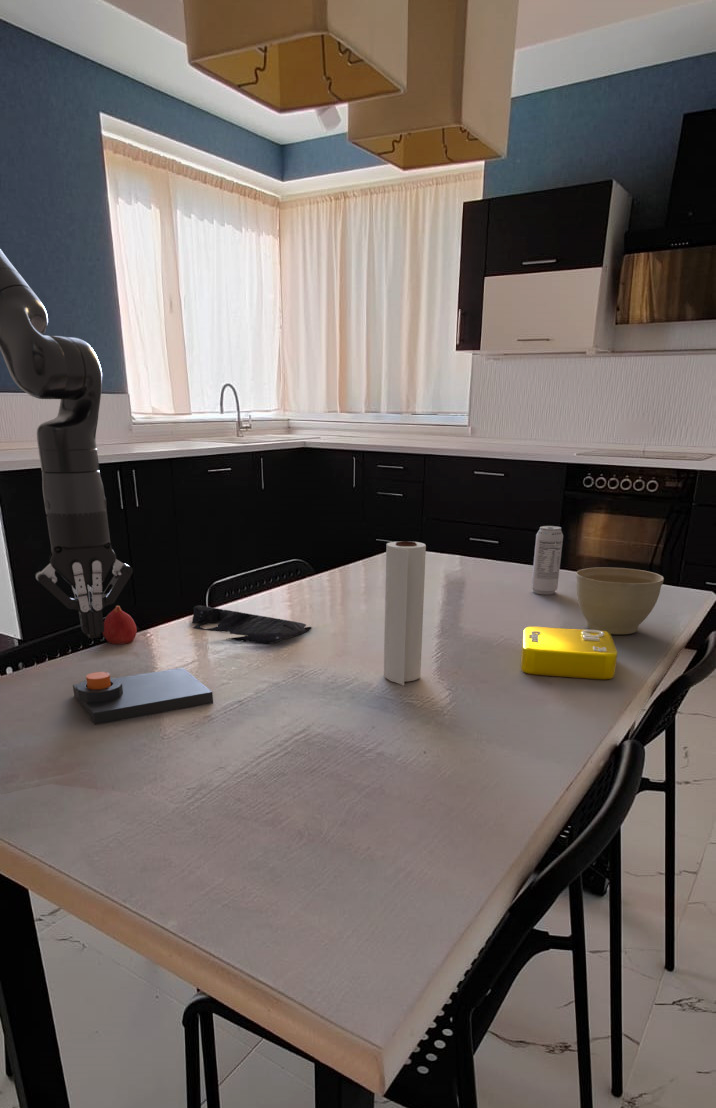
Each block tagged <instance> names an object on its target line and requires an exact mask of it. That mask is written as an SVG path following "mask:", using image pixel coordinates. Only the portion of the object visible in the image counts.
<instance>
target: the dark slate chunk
mask: <svg viewBox="0 0 716 1108" xmlns="http://www.w3.org/2000/svg"><path fill="white" fill-rule="evenodd" d="M191 623H192V624H195V625H194V626H193V627H192V629H194V630H199V631H209V632H210V631H211V632H218V633H220V632H221V633H222V632H223V633H229V634H231V635H236V637H229V638H227V640H231V641H232V640H233V641H237V642H245V643H246V642H249V643H257V644H263V645H266V644H269V643H271V644H272V643H278V642H281V641H282V640H286V639H289V638H292V637H293V638H294V637H297V636H300V635H304V634H306V633H308V632H310V631H311V629H312V627H311V626H307V624H306V623H303V622H300V621H299V622H298V621H293V620H289V619H282V618H278V617H270V616H263V615H258V614H252V613H246V612H241V611H235V610H229V609H222V608H216V607H211V606H207V605H206V606H205V605H201V604H200V605H196V606H194V607H193V613H192V621H191ZM217 623H218V624H217ZM209 624H217V625H216V626H215V627H208V628H203V627H202V626H207V625H209ZM237 635H238V636H237Z"/></svg>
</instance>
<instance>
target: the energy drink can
mask: <svg viewBox="0 0 716 1108" xmlns="http://www.w3.org/2000/svg"><path fill="white" fill-rule="evenodd" d="M563 541H564V533H563V531H562V527H561V526H555V525H541V526H540V527H539V530H538V531H537V533H536V534H535V545H534V556H533V566H532V576H531V587H530V588H531V589H532V591H533V593H534V594H537V595H544V596H546V595H554V594H555V593H556V591H557V590H558V586H559V578H560V577H559V576H560V570H561V569H560V568H561V559H562V550H563Z"/></svg>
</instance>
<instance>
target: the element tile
mask: <svg viewBox="0 0 716 1108" xmlns="http://www.w3.org/2000/svg"><path fill="white" fill-rule="evenodd" d="M522 634H523V635H522V642H521V655H520V656H521V659H520V669H521V671H522V672H523V673H525V674H528V675H534V676H545V677H546V676H547V677H548V676H549V677H561V678H574V679H588V680H602V681H603V680H605V681H607V680H611V679H613V678H614V677H615V673H616V668H617V661H618V660H617V659H618V651H617V648H616V645H615V642H614V639H613V636H612V634H609V633H608V632H606V631H598V630H591V629H579V628H565V627H564V628H563V627H548V626H547V627H545V626H531V625H530V626H527V627H525V628H524V629H523V631H522Z"/></svg>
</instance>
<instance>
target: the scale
mask: <svg viewBox="0 0 716 1108" xmlns="http://www.w3.org/2000/svg"><path fill="white" fill-rule="evenodd" d="M110 682H111V686H110V687H108V688H104V689H88V687H87V680H84V681H80V682H79V683H77V684H73V685H72V690H73V694H74V695H73V696H74V698H75V699H76V700H77V702H78V703H79V705H80V706H81V707H82V709H83V710H84V712H85V714H86V715H87V716H88V717H89V719H90V721H91V722H92V723H93V724H94V726H98V725H103V724H109V723H115V722H121V721H126V720H131V719H136V718H141V717H146V716H147V717H148V716H153V715H159V714H162V713H169V712H174V711H179V710H185V709H190V708H195V707H201V706H206V705H211V704H214V695H213V691H212V690H211V689H210V688H208V687H207V686H206V685H205V684H204V683H203V682H201V681H200V680H199V679H198V678H197V677H195V676H194V675H193V674H192V673H190V672H189V671H188V670H187V669H186V668H185V667H178V668H177V667H176V668H172V669H165V670H158V671H151V672H144V673H138V674H133V675H128V676H127V675H126V676H121V677H114V678H112V677H110Z"/></svg>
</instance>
